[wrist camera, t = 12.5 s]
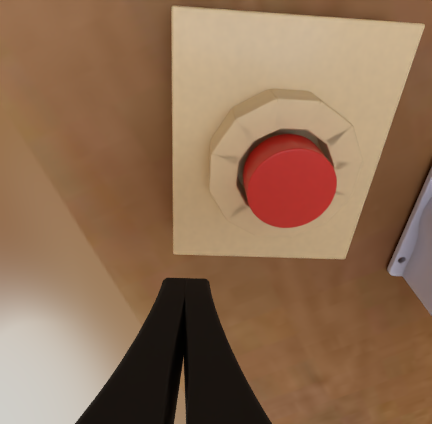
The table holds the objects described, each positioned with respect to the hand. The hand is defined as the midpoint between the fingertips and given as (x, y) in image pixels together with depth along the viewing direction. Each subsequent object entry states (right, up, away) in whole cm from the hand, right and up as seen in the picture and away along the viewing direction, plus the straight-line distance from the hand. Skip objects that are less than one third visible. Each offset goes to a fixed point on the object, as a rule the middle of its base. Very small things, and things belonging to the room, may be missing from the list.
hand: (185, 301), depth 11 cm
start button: (+4, +5, +4) cm, 7 cm away
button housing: (+4, +7, +8) cm, 11 cm away
